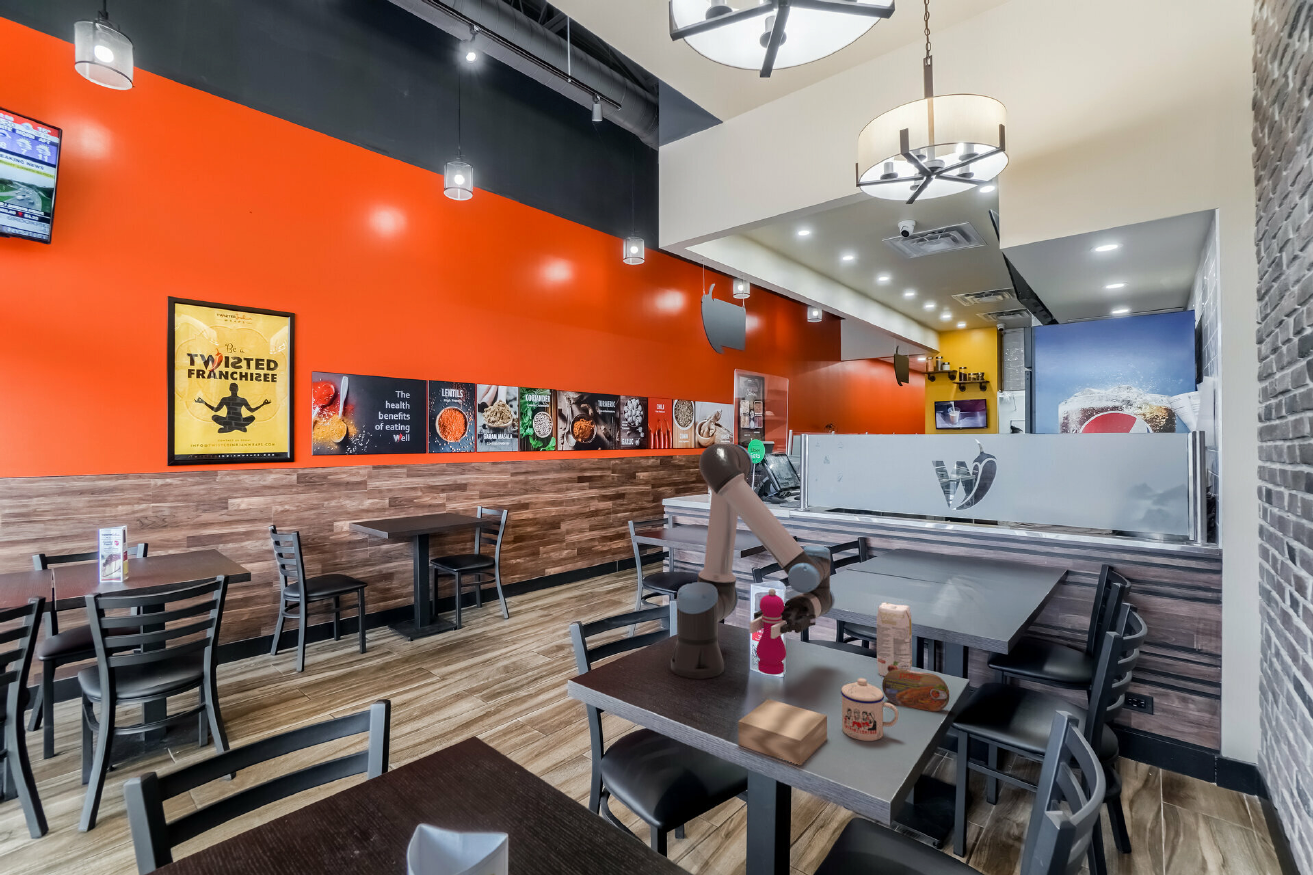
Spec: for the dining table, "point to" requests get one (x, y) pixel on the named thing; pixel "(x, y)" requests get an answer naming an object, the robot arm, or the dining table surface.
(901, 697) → the tin
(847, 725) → the teacup with lid
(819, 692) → the dining table surface
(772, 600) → the pepper mill
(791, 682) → the dining table surface
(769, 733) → the birch block
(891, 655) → the juice carton
